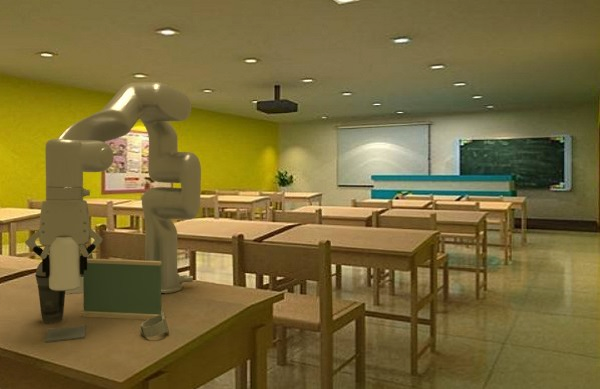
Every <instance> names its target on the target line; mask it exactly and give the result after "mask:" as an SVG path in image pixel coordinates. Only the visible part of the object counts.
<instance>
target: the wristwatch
mask: <svg viewBox="0 0 600 389" xmlns="http://www.w3.org/2000/svg"><path fill="white" fill-rule="evenodd" d="M139 327H140V331H141V334H142V337H145V338H152V337H157V336H160V335H163V334H166V335H169V332H170V331H169V326H168V322H167V318H166V315H165V313H164V311H163V312H161V315H158V316H155V317H152V318H150V319H148V320H146V319H145V321H143V322H142V323H141V324H140V325H139Z"/></svg>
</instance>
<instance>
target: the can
mask: <svg viewBox="0 0 600 389" xmlns="http://www.w3.org/2000/svg"><path fill="white" fill-rule="evenodd" d="M48 254H49V288H50V289H51V290H53V291H68V290H74V289H77V288H79V286H80V285H81V274H80V257H81V251H80V249H79V245H77V244H76V242H75V241H74V240H73V239H72V236H65V237H57V238H56V240H55V241H54V242H53V243H52V245H51V246H50V251H49V253H48Z"/></svg>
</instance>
